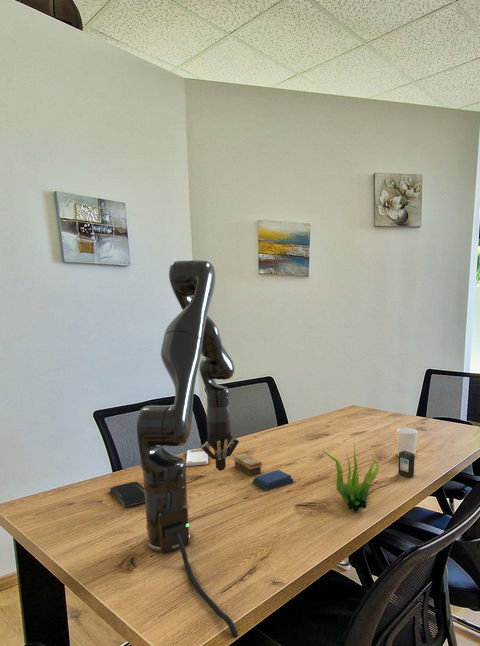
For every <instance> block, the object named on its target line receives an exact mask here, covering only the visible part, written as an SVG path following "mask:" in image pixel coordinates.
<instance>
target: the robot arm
mask: <svg viewBox="0 0 480 646" xmlns="http://www.w3.org/2000/svg"><path fill="white" fill-rule="evenodd" d="M168 279H169V283H170V287H171V290H172V291H173V294H174V296H175V298H176V300H177V302H178V304H179V305H180V308H181V310H182V311H180V312H179V313H178V314H177V315H176V316H175V317H174V318H173V320H172V321H171V322H170V323H169V324H168V325H167V327H166V329H165V331H164V334H163V338H162V343H161V349H160V358H161V361H162V364H163V366H164V368H165V370H166V372H167V374H168V376H169V378H170V379H171V382H172V384H173V388H174V394H175V395H174V403H173V405H146V406H143V407H142V408H141V409H140V410H139V412H138V413H137V417H136V422H135V432H136V433H135V434H136V441H137V447H138V456H139V463H140V467H141V470H142V476H143V488H144V493H145V502H144V505H145V517H146V532H147V546H148V547H147V548H148V549H150V550H152V551H154V552H160V553H161V554H165V553H168V552H169V553H170V552H173V551H175V550H177V549H180V553H181V557H182V561H183V564H184V567H185V571H186V574H187V576H188V578H189V580H190V582H191V584H192V586H193V587H194V589H195V590H196V592H197V593H198V595H199V596H200V597H201V598H202V600H204V601H205V603H206V604H207V605H208V606H209V607H210V608H211V609H212V610H213V612H214V613H215V614H216V615H217V616H218V617H219V618H221V620H222V621H224V622H225V623H226V625H227V626H228V628H229V630H230V633H231V636H232V637H233V639H234V638H235V639H237V638H238V637H239V634H238V631H237V627H236V625H235V624H234V622H233V620H232V619H231V618H230V616H228V615H227V614H226V613H225V612H224V611H222V610H221V609H220V608H219V606H218V605H217V604H216V603H215V602H214V601H213V600H212V599H211V598H210V597H209V596H208V594H207V593H206V591H204V589H203V588H202V587H201V585H200V584H199V582H198V581H197V579H196V577H195V575H194V573H193V570H192V568H191V565H190V562H189V558H188V554H187V551H186V546H189V545H190V540H191V532H190V520H189V503H188V500H189V499H188V485H187V466H186V460H185V459H184V458H183V457H181V456H180V455H178V454H174V453H172V452H170V451H169V450H167V449H166V448H165V447H182V446H184V445H186V443H187V441H188V440H189V437H190V433H191V429H192V421H193V420H192V419H193V408H194V397H195V388H196V381H197V375H198V370H199V374H200V376H201V380H202V383H203V386H204V390H205V393H206V418H205V419H206V431H207V432H206V433H207V437H206V440H205V443H203V444H201V445H199V449H202V450H201V451H204V452H205V453H206V454H207V455H208V458H210V459H212V460H215V468H216V469H217V470H218V471H225V469H226V465H227V463H226V462H227V461H226V459H227V457H231V456H232V454H233V453H234V451H235V450H236V447H237V446H238V445H239V442H240V441H239V440H238V439H237V438H234V437H233V436H234V435H233V434H232V412H231V411H232V410H231V405H230V403H231V402H230V390H229V388H228V387H227V386H223V385H219V384H218V383H217V382H216V380H221V381H222V380H223V381H225V380H230V379H231V378H232V377H233V376H234V373H235V364H234V361H233V359H232V357H231V356H230V354H229V353H228V352H227V350H226V348H225V346H224V345H223V342H222V338H221V334H220V331H219V328H218V327H217V324H216V323H215V322H214V321H213V320H212V318H211V317H210V316H209V315H208V313H209V309H210V306H211V302H212V299H213V294H214V291H215V285H216V271H215V268H214V265H213V263H211V262H210V261H208V260H201V259H200V260H198V259H197V260H196V259H194V260H176V261H173V262H171V263H170V266H169V270H168ZM201 356H203V357H204V358H202V359H201ZM200 360H201V361H200ZM210 449H212V450H213V452H212V451H211V450H210Z"/></svg>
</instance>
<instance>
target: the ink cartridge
mask: <svg viewBox="0 0 480 646" xmlns="http://www.w3.org/2000/svg"><path fill="white" fill-rule="evenodd" d="M415 457H416V453H415V454H413V453H411V452H407V451H401V452H399V456H398V467H397V469H398V471H397V473H398V475H401V476H404V477H406V478H412V477H413V476H414V475H415Z"/></svg>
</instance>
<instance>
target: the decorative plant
mask: <svg viewBox="0 0 480 646" xmlns="http://www.w3.org/2000/svg"><path fill="white" fill-rule="evenodd" d="M353 437H354V439H356V438H355V436H353ZM321 449H322V451H323V453H324V454H325V455H326V456H328V457H329V458H330V459H332V460H333V461H334V462H335V467H336V490H337V492H338V493H339V494H340V495H341V497H342V499H343V501H344V502H345V504H346V505H347V508H348V509H349V510H352V511H353V512H356V513H357V512H359V510H360V509H366V508H367V501H368V495H369V492H370V491H369V490H370V486H371V484H372V483H373V482H374V481H375V479H376V477H377V475H378V473H379V471H380V467H379V462H378V461H377V460H375V459H374V456H375V454H376V453H377V452H376V451H375V452H373V454H372V456H371V460H372V463H371V464H370V467H369V469H368V470H367V472H366V473H365V475H364V479H363V480H362V483H360V481H359V480H360V478H359V467H358V462H357V457H356V443H354V446H353V466H354V467H353V472H352V467H351V463H350V459H349V454H348V453H347V454H346V457H347V463H348V473H347V480H346V481H347V482H346V483H344V480H343V479H344V478H343V477H344V476H343V468H342V465H341V463H340V460H339V459H337V458H336V457H334V456H333V455H331V454H329V453H328V452H326V450H325V449H324V448H323V447H321ZM374 464H375V467H374ZM373 467H374V469H373Z"/></svg>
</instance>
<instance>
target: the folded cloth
mask: <svg viewBox="0 0 480 646" xmlns="http://www.w3.org/2000/svg"><path fill="white" fill-rule="evenodd" d="M252 482H253V484H255V485H256V486H258V487H259V488H261V489H262V490H265V491H268V490H272V489H275V488H280V487H283V486H286V485H289V484H292V483H294V478H293V477H292V475H291V474H288V473H286V472H285V471H283V470H280V469H276V470H273V471H269V472H266V473H263V474H260V475H259V474H258V475H257V476H254V478H253V479H252Z"/></svg>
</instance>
